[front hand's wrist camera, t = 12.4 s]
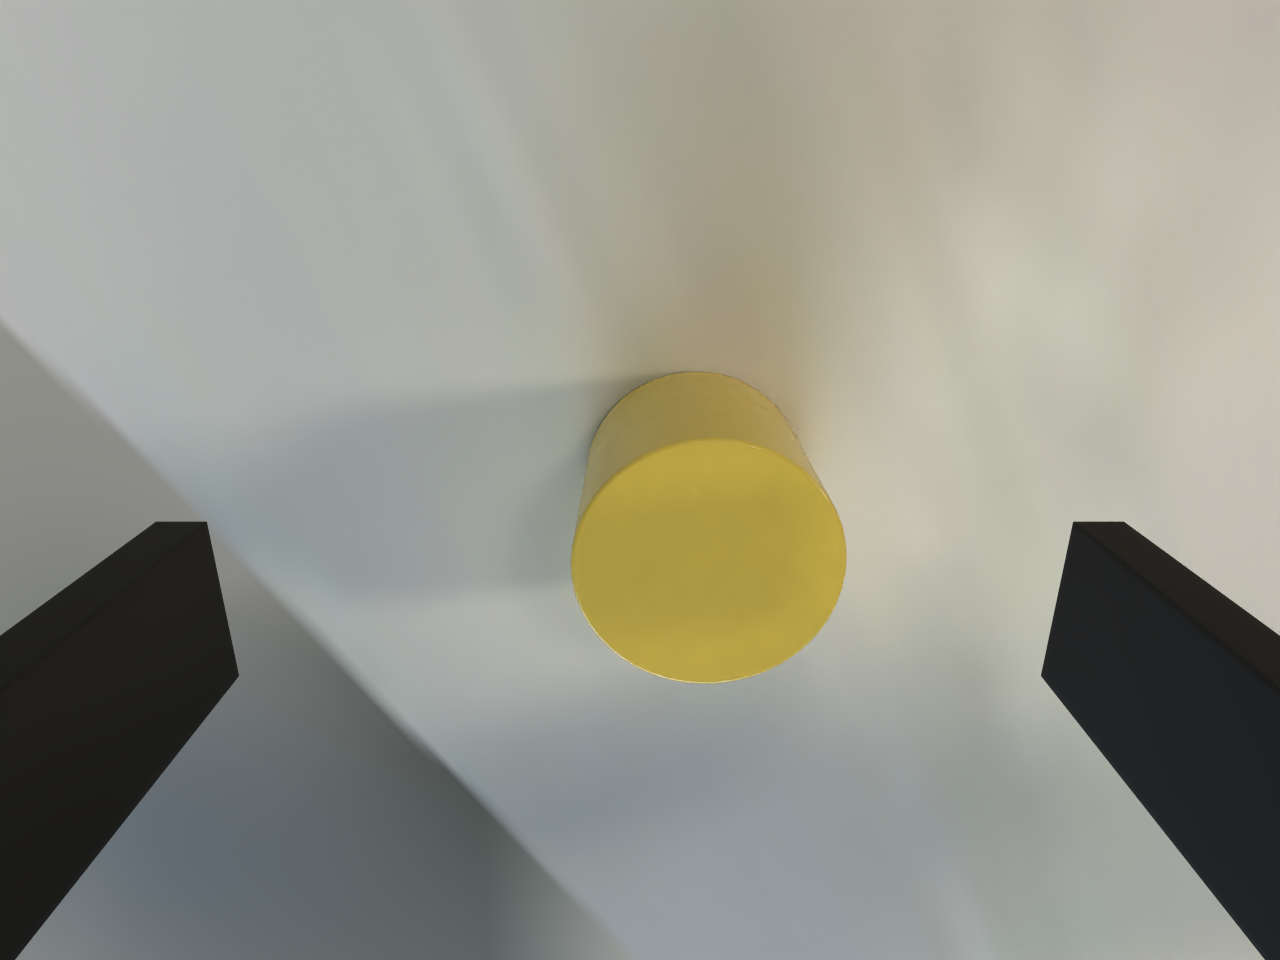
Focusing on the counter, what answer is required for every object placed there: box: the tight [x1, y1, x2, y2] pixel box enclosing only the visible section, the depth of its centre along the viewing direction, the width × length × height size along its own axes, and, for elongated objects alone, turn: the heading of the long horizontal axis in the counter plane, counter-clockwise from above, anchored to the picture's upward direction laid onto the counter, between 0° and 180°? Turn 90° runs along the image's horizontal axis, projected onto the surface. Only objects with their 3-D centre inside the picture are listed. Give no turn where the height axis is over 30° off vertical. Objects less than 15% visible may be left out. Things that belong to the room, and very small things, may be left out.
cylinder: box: [571, 372, 847, 684], centre depth 18 cm, size 5×5×5 cm
